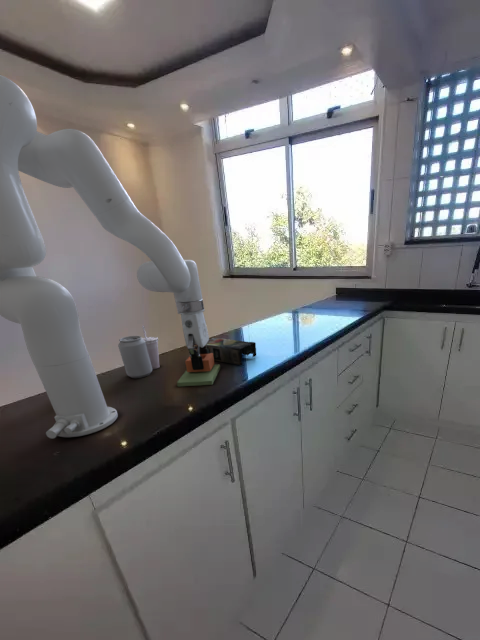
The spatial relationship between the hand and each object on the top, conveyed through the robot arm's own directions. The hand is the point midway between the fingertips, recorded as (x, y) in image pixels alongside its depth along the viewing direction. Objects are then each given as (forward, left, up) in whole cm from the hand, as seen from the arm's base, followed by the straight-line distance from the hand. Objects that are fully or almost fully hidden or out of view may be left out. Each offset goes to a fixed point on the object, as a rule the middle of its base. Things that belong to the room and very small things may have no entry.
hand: (201, 364), depth 97 cm
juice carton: (+14, -6, -3) cm, 15 cm away
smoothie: (+8, +18, -3) cm, 20 cm away
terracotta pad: (0, 0, -1) cm, 1 cm away
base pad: (-3, 0, -3) cm, 4 cm away
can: (+2, +20, -3) cm, 20 cm away
